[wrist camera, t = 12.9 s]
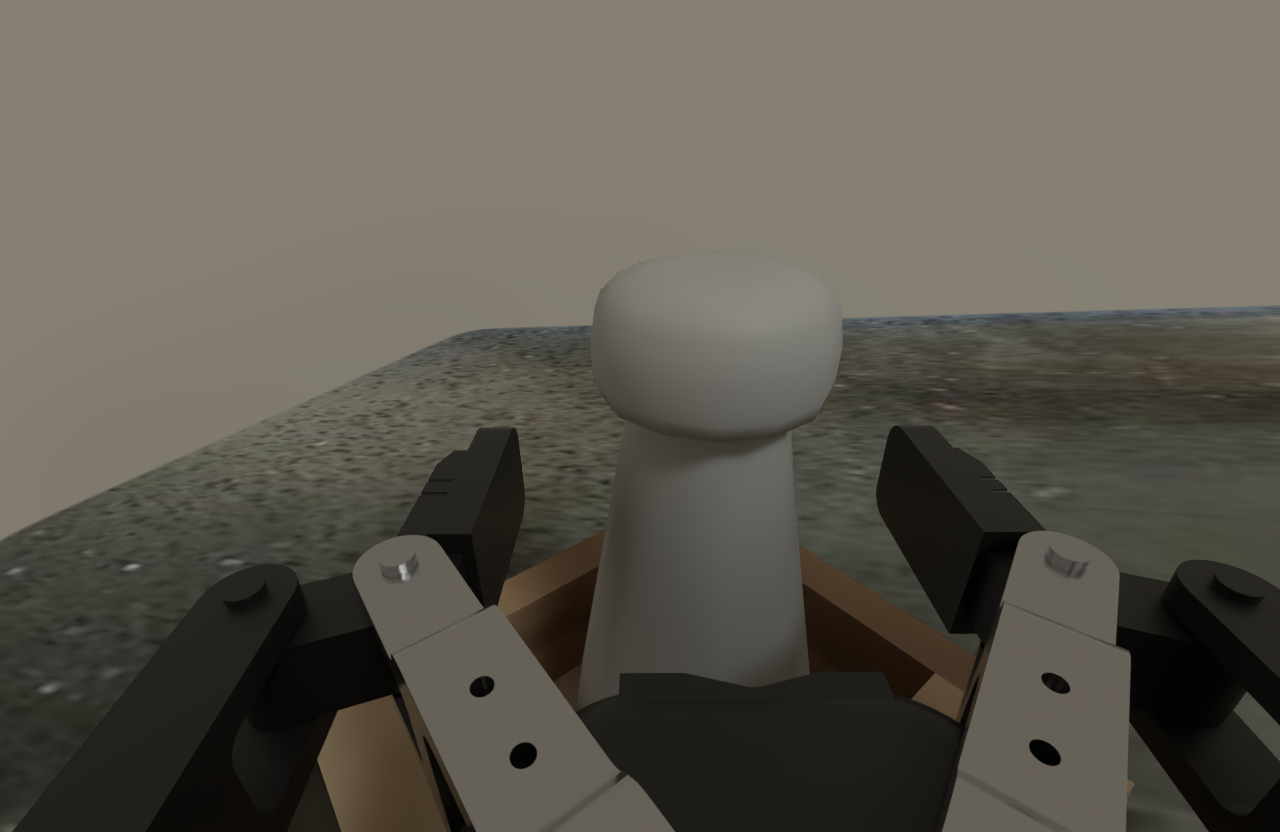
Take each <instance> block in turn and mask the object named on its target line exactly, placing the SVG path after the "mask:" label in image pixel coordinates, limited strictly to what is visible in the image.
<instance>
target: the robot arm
mask: <svg viewBox="0 0 1280 832" xmlns="http://www.w3.org/2000/svg"><path fill="white" fill-rule="evenodd" d="M876 498H877V506H878V510H879V513H880V515H881V517H882V519H883V520H884V522H885V524H886V525H887V527H888V529H889V531H890V532H891V534H892V536H893V537H894V539H895V541H896V543H897V544H898V546H899V548H900V549H901V551H902V553H903V555H904V556H905V558H906V560H907V561H908V563H909V565H910V567H911V568H912V570H913V572H914V574H915V575H916V577H917V579H918V580H919V582H920V584H921V586H922V587H923V589H924V591H925V592H926V594H927V596H928V598H929V599H930V601H931V603H932V604H933V606H934V608H935V610H936V611H937V613H938V615H939V616H940V618H941V620H942V622H943V623H944V625H945V627H946V629H947V630H948V632H949V634H977V635H978V636H979V638H980V639H981V642H980V644H979V647H978V649H977V652H976V655H975V658H974V661H973V665H972V668H971V671H970V674H969V678H968V681H967V684H966V687H965V691H964V694H963V697H962V700H961V704H960V707H959V710H958V713H957V717H956V720H954V719H952V718H951V717H949V716H947V715H945V714H943V713H941V712H939V711H937V710H936V709H934V708H931V707H929V706H927V705H924V704H922V703H920V702H917V701H914V700H911V699H908V698H905V697H902V696H898V695H894V694H892V691H891V689H890V687H889V684H888V682H887V679H886V677H885V675H884V672H816V673H813V674H809V675H805V676H801V677H797V678H793V679H789V680H785V681H781V682H777V683H773V684H769V685H765V686H761V687H746V686H742V685H737V684H733V683H728V682H724V681H719V680H715V679H710V678H706V677H701V676H696V675H692V674H687V673H620V679H619V694H618V695H615V696H611V697H607V698H604V699H602V700H599V701H597V702H594V703H592V704H590V705H588V706H586V707H584V708H582V709H580V710H578V711H577V712H575V711H574V710H573V709H572V707H571V706H570V704H569V703H568V702H567V700H566V699H565V698H564V696H563V695H562V693H561V692H560V691H559V689H558V688H557V687H556V685H555V684H554V682H553V681H552V680H551V678H550V677H549V676H548V674H547V673H546V671H545V670H544V669H543V667H542V666H541V665H540V663H539V662H538V660H537V659H536V658H535V656H534V655H533V654H532V652H531V651H530V649H529V648H528V647H527V645H526V644H525V643H524V641H523V640H522V638H521V637H520V636H519V634H518V633H517V632H516V630H515V629H514V627H513V626H512V625H511V623H510V622H509V621H508V619H507V618H506V616H505V615H504V614H503V612H502V611H501V610H500V609H499V608H498V603H499V600H500V596H501V592H502V589H503V585H504V582H505V578H506V575H507V571H508V567H509V564H510V560H511V557H512V553H513V550H514V546H515V542H516V539H517V535H518V532H519V528H520V525H521V521H522V517H523V513H524V502H525V492H524V482H523V473H522V465H521V457H520V449H519V441H518V435H517V431H516V429H515V428H479V429H478V431H477V433H476V435H475V437H474V439H473V441H472V443H471V445H470V447H469V449H468V451H453V452H452V453H451V454H449V455H448V456H447V457H446V458H444V459H443V460H442V461H441V462H439V463H438V464H437V465H436V467H435V469H434V471H433V472H432V474H431V476H430V478H429V482H428V483H426V485H425V487H424V489H423V490H422V495H421V496H419V498H418V499H417V501H416V503H415V505H414V507H413V508H412V510H411V512H410V514H409V516H408V517H407V519H406V521H405V523H404V525H403V526H402V528H401V530H400V532H399V534H398V535H397V537H395V538H392V539H389V540H386V541H384V542H381V543H379V544H377V545H376V546H374V547H372V548H371V549H369V550H368V551H367V552H365V553H364V554H363V555H362V556H361V557H360V559H359V560H358V561H357V563H356V565H355V566H354V570H353V572H352V573H349V574H346V575H342V576H339V577H334V578H330V579H325V580H321V581H317V582H312V583H308V584H304V585H300V584H299V581H298V578H297V576H296V573H295V572H294V571H293V570H292V569H290V568H289V567H286V566H283V565H277V564H267V565H259V566H254V567H250V568H247V569H244V570H241V571H239V572H236V573H234V574H232V575H230V576H228V577H226V578H224V579H222V580H221V581H219V582H218V583H216V584H215V585H213V586H212V587H211V588H209V589H208V590H207V591H206V592H205V593H204V594H203V595H202V596H201V597H200V598H199V600H198V601H197V602H196V603H195V605H194V606H193V607H192V608H191V610H190V611H189V612H188V613H187V615H186V616H185V617H184V618H183V620H182V621H181V622H180V623H179V625H178V626H177V627H176V628H175V630H174V631H173V632H172V633H171V635H170V636H169V637H168V638H167V640H166V641H165V642H164V643H163V645H162V646H161V647H160V648H159V650H158V651H157V652H156V653H155V655H154V656H153V657H152V658H151V660H150V661H149V662H148V663H147V665H146V666H145V667H144V668H143V669H142V671H141V672H140V673H139V674H138V676H137V677H136V678H135V679H134V681H133V682H132V683H131V684H130V686H129V687H128V688H127V689H126V691H125V692H124V693H123V694H122V696H121V697H120V698H119V699H118V701H117V702H116V703H115V704H114V706H113V707H112V708H111V709H110V711H109V712H108V713H107V714H106V716H105V717H104V718H103V719H102V721H101V722H100V723H99V724H98V726H97V727H96V728H95V729H94V731H93V732H92V733H91V734H90V736H89V737H88V738H87V739H86V741H85V742H84V743H83V744H82V746H81V747H80V748H79V749H78V751H77V752H76V753H75V754H74V755H73V757H72V758H71V759H70V760H69V762H68V763H67V764H66V765H65V767H64V768H63V769H62V770H61V772H60V773H59V774H58V775H57V777H56V778H55V779H54V780H53V782H52V783H51V784H50V785H49V787H48V788H47V789H46V790H45V792H44V793H43V794H42V795H41V797H40V798H39V799H38V800H37V802H36V803H35V804H34V805H33V807H32V808H31V809H30V810H29V812H28V813H27V814H26V815H25V817H24V818H23V819H22V820H21V822H20V823H19V824H18V825H17V827H16V828H15V829H14V830H13V832H286V831H287V829H288V827H289V824H290V822H291V820H292V817H293V815H294V813H295V810H296V808H297V806H298V803H299V801H300V798H301V796H302V794H303V791H304V789H305V787H306V784H307V782H308V780H309V777H310V775H311V773H312V770H313V768H314V766H315V763H316V761H317V759H318V756H319V754H320V752H321V749H322V747H323V745H324V742H325V740H326V738H327V735H328V733H329V731H330V728H331V726H332V724H333V721H334V719H335V717H336V714H337V712H338V710H342V709H345V708H348V707H352V706H355V705H359V704H362V703H366V702H369V701H372V700H376V699H379V698H383V697H386V696H391V698H392V701H393V703H394V705H395V708H396V710H397V712H398V714H399V717H400V719H401V721H402V724H403V726H404V728H405V731H406V733H407V735H408V737H409V740H410V742H411V744H412V747H413V749H414V751H415V754H416V756H417V758H418V760H419V763H420V765H421V767H422V770H423V772H424V774H425V777H426V779H427V782H428V784H429V787H430V789H431V792H432V795H433V797H434V800H435V803H436V806H437V808H438V811H439V814H440V816H441V819H442V821H443V824H444V826H445V829H446V831H447V832H1126V807H1127V773H1128V738H1129V722H1130V723H1131V725H1132V726H1133V727H1134V729H1135V730H1136V732H1137V733H1138V734H1139V736H1140V737H1141V738H1142V740H1143V741H1144V743H1145V744H1146V745H1147V747H1148V748H1149V749H1150V751H1151V752H1152V754H1153V755H1154V756H1155V758H1156V759H1157V761H1158V762H1159V763H1160V765H1161V766H1162V767H1163V769H1164V770H1165V772H1166V773H1167V774H1168V776H1169V777H1170V779H1171V780H1172V781H1173V783H1174V784H1175V785H1176V787H1177V788H1178V790H1179V791H1180V792H1181V794H1182V795H1183V796H1184V798H1185V799H1186V801H1187V802H1188V803H1189V805H1190V806H1191V808H1192V809H1193V810H1194V812H1195V813H1196V814H1197V816H1198V817H1199V819H1200V820H1201V821H1202V823H1203V824H1204V826H1205V827H1206V828H1207V830H1208V831H1209V832H1280V761H1279V760H1278V759H1277V758H1276V757H1275V756H1274V755H1273V754H1272V753H1271V751H1270V750H1269V749H1268V748H1267V747H1266V746H1265V745H1264V744H1263V743H1262V742H1261V740H1260V739H1259V738H1258V737H1257V736H1256V735H1255V734H1254V733H1253V732H1252V730H1251V729H1250V728H1249V727H1248V726H1247V725H1246V724H1245V723H1244V722H1243V721H1242V719H1241V718H1240V717H1239V716H1238V715H1237V714H1236V713H1235V712H1234V711H1233V710H1234V708H1235V707H1236V705H1237V704H1238V703H1239V701H1240V700H1241V699H1242V697H1243V696H1244V695H1245V693H1246V692H1248V693H1249V694H1250V695H1251V696H1252V697H1253V698H1254V699H1255V700H1256V701H1257V702H1258V703H1259V704H1260V705H1261V706H1262V707H1263V708H1264V709H1265V710H1266V711H1267V712H1268V713H1269V714H1270V715H1271V717H1272V718H1273V719H1274V720H1275V721H1276V722H1277V723H1278V724H1279V725H1280V590H1279V589H1278V588H1277V587H1275V586H1273V585H1272V584H1270V583H1269V582H1267V581H1265V580H1263V579H1261V578H1260V577H1258V576H1256V575H1253V574H1251V573H1249V572H1247V571H1244V570H1242V569H1239V568H1236V567H1233V566H1230V565H1227V564H1223V563H1219V562H1214V561H1208V560H1190V561H1186V562H1183V563H1181V564H1180V565H1179V566H1178V568H1177V570H1176V571H1175V573H1174V575H1173V577H1172V578H1171V580H1170V582H1166V581H1161V580H1156V579H1150V578H1145V577H1140V576H1135V575H1130V574H1125V573H1121V572H1119V570H1118V568H1117V566H1116V565H1115V563H1114V562H1113V561H1112V560H1111V559H1110V558H1109V557H1108V556H1107V555H1106V554H1105V553H1103V552H1102V551H1101V550H1099V549H1098V548H1096V547H1095V546H1093V545H1091V544H1089V543H1087V542H1085V541H1083V540H1081V539H1078V538H1076V537H1073V536H1070V535H1066V534H1063V533H1058V532H1052V531H1046V530H1045V529H1044V528H1043V527H1042V526H1041V525H1040V523H1039V522H1038V521H1037V520H1036V519H1035V518H1034V517H1033V516H1032V515H1031V514H1030V513H1029V512H1028V511H1027V510H1026V509H1025V508H1024V507H1023V505H1022V504H1021V503H1020V502H1019V501H1018V500H1017V499H1016V498H1015V497H1014V496H1013V495H1012V494H1011V493H1007V489H1006V488H1005V486H1004V485H1003V484H1002V483H1001V482H1000V481H999V480H995V476H994V475H993V474H992V473H991V472H990V471H989V470H988V469H987V467H986V466H985V465H984V464H983V463H982V462H981V461H979V460H978V459H976V458H974V457H973V456H971V455H969V454H967V453H966V452H964V451H962V450H961V449H959V448H953V447H952V446H951V445H950V444H949V443H948V442H947V440H946V439H945V438H944V437H943V436H942V435H941V434H940V433H939V432H938V430H937V429H936V428H935V427H933V426H930V425H910V426H894V427H892V429H891V430H890V432H889V435H888V439H887V443H886V448H885V452H884V457H883V461H882V466H881V470H880V475H879V479H878V484H877V490H876Z"/></svg>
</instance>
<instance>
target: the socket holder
mask: <svg viewBox="0 0 1280 832" xmlns="http://www.w3.org/2000/svg"><path fill="white" fill-rule="evenodd" d="M605 531H606V530H604V531H602V532H600V533H598V534H596V535H594V536H592V537H590V538H588V539H586V540H584V541H582V542H580V543H578V544H576V545H574V546H572V547H570V548H569V549H567V550H565V551H563V552H561V553H559V554H557V555H555V556H553V557H551V558H549V559H547V560H545V561H543V562H541V563H539V564H537V565H535V566H533V567H531V568H529V569H527V570H525V571H523V572H521V573H519V574H518V575H516V576H514V577H512V578H510V579H508V580H506V581H505V582H504V585H503V589H502V592H501V596H500V600H499V603H498V608H499V609H500V610H501V611H502V612H503V614H504V615H505V616H506V618H507V619H508V621H509V622H510V623H511V625H512V626H513V627H514V629H515V630H516V632H517V633H518V634H519V636H520V637H521V638H522V640H523V641H524V643H525V644H526V645H527V647H528V648H529V649H530V651H531V652H532V654H533V655H534V656H535V658H536V659H537V660H538V662H539V663H540V665H541V666H542V667H543V669H544V670H545V671H546V673H547V674H548V676H549V677H550V678H551V680H552V681H553V682H554V684H555V685H556V687H557V688H558V689H559V691H560V692H561V693H562V695H563V696H564V698H565V699H566V700H567V702H568V703H569V704H570V706H571V707H572V709H573V710H574V711H575V712H577V711H578V709H577V706H576V703H577V696H578V689H579V681H580V674H581V667H582V659H583V654H584V648H585V643H586V637H587V631H588V626H589V620H590V615H591V609H592V603H593V598H594V592H595V587H596V581H597V576H598V570H599V564H600V559H601V553H602V548H603V542H604V536H605ZM799 553H800V565H801V577H802V588H803V600H804V612H805V624H806V636H807V648H808V660H809V672H810V674H813V673H816V672H884V675H885V677H886V679H887V682H888V684H889V687H890V689H891V691H892V694H894V695H898V696H902V697H905V698H908V699H911V700H914V701H917V702H920V703H922V704H924V705H927V706H929V707H931V708H934V709H936V710H937V711H939V712H941V713H943V714H945V715H947V716H949V717H951V718H952V719H954V720H956V717H957V713H958V710H959V707H960V704H961V700H962V697H963V694H964V691H965V687H966V684H967V681H968V678H969V674H970V671H971V668H972V665H973V661H974V658H975V656H974V655H973V654H971V653H969V652H968V651H966V650H965V649H963V648H962V647H960V646H958V645H957V644H955V643H954V642H952V641H950V640H949V639H947V638H946V637H944V636H942V635H941V634H939V633H938V632H936V631H934V630H933V629H931V628H930V627H928V626H927V625H925V624H923V623H922V622H920V621H919V620H917V619H915V618H914V617H912V616H911V615H909V614H907V613H906V612H904V611H903V610H901V609H899V608H898V607H896V606H895V605H893V604H892V603H890V602H888V601H887V600H885V599H884V598H882V597H880V596H879V595H877V594H876V593H874V592H872V591H871V590H869V589H868V588H866V587H864V586H863V585H861V584H860V583H858V582H856V581H855V580H853V579H852V578H850V577H849V576H847V575H845V574H844V573H842V572H841V571H839V570H837V569H836V568H834V567H833V566H831V565H829V564H828V563H826V562H825V561H823V560H821V559H820V558H818V557H817V556H815V555H814V554H812V553H810V552H809V551H807V550H806V549H804V548H802V547H801V546H799ZM317 760H318V763H319V766H320V769H321V772H322V775H323V778H324V781H325V784H326V787H327V790H328V793H329V796H330V799H331V802H332V805H333V808H334V811H335V814H336V817H337V820H338V823H339V826H340V829H341V832H447V831H446V829H445V826H444V824H443V821H442V819H441V816H440V814H439V811H438V808H437V806H436V803H435V800H434V797H433V795H432V792H431V789H430V787H429V784H428V782H427V779H426V777H425V774H424V772H423V770H422V767H421V765H420V763H419V760H418V758H417V756H416V754H415V751H414V749H413V747H412V744H411V742H410V740H409V737H408V735H407V733H406V731H405V728H404V726H403V724H402V721H401V719H400V717H399V714H398V712H397V710H396V708H395V705H394V703H393V701H392V698H391V696H386V697H383V698H379V699H376V700H372V701H369V702H366V703H362V704H359V705H355V706H352V707H348V708H345V709H342V710H338V712H337V714H336V717H335V719H334V721H333V724H332V726H331V728H330V731H329V733H328V735H327V738H326V740H325V742H324V745H323V747H322V749H321V752H320V754H319V756H318V759H317ZM1134 784H1135V783H1133V782H1132V781H1130V780H1129V779H1127V799H1128V797H1129V794H1130V792H1131V790H1132V788H1133V786H1134Z"/></svg>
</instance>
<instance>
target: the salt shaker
mask: <svg viewBox="0 0 1280 832" xmlns="http://www.w3.org/2000/svg"><path fill="white" fill-rule="evenodd" d="M842 347H843V341H842V308H841V307H840V306H839V304H838V303H837V302H836V300H835V299H834V298H833V296H832V295H831V294H830V293H829V291H828V290H827V289H826V287H825V286H824V285H823V284H822V282H821V281H820V280H819V278H818V277H817V276H816V275H815V273H813V272H810V271H808V270H805V269H802V268H799V267H797V266H794V265H791V264H788V263H785V262H782V261H779V260H776V259H773V258H767V257H761V256H755V255H749V254H740V253H723V252H704V253H687V254H680V255H674V256H668V257H662V258H657V259H653V260H648V261H644V262H640V263H638V264H636V265H633V266H631V267H629V268H627V269H625V270H622V271H620V272H618V273H617V274H616V275H615V276H614V277H613V278H612V279H611V280H610V281H609V282H608V283H607V284H606V285H605V286H604V287H603V288H602V289H601V290H600V293H599V296H598V299H597V302H596V305H595V310H594V317H593V325H592V333H591V340H590V348H591V356H592V365H593V373H594V379H595V382H596V384H597V386H598V388H599V391H600V393H601V395H602V396H603V398H604V399H605V400H606V401H607V403H608V404H609V405H610V406H611V408H612V409H613V410H614V411H615V413H616V414H617V415H618V416H619V417H620V418H622V419H625V425H624V430H623V436H622V441H621V447H620V453H619V458H618V464H617V469H616V475H615V481H614V486H613V492H612V497H611V503H610V508H609V514H608V520H607V525H606V531H605V536H604V542H603V548H602V553H601V559H600V564H599V570H598V576H597V581H596V587H595V592H594V598H593V603H592V609H591V615H590V620H589V626H588V631H587V637H586V643H585V648H584V654H583V659H582V667H581V674H580V681H579V689H578V696H577V703H576V706H577V709H578V710H580V709H582V708H584V707H586V706H588V705H590V704H592V703H594V702H597V701H599V700H602V699H604V698H607V697H611V696H615V695H618V694H619V679H620V673H687V674H692V675H696V676H701V677H706V678H710V679H715V680H719V681H724V682H728V683H733V684H737V685H742V686H746V687H761V686H765V685H769V684H773V683H777V682H781V681H785V680H789V679H793V678H797V677H801V676H805V675H809V674H810V672H809V660H808V648H807V636H806V624H805V612H804V600H803V588H802V577H801V565H800V553H799V541H798V529H797V517H796V505H795V493H794V479H793V458H792V437H791V430H792V429H795V428H797V427H799V426H802V425H804V424H807V423H809V422H811V421H814V419H815V417H816V415H817V414H818V412H819V410H820V408H821V406H822V404H823V403H824V401H825V399H826V397H827V395H828V394H829V392H830V390H831V388H832V386H833V384H834V383H835V379H836V375H837V370H838V366H839V361H840V356H841V352H842Z"/></svg>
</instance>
